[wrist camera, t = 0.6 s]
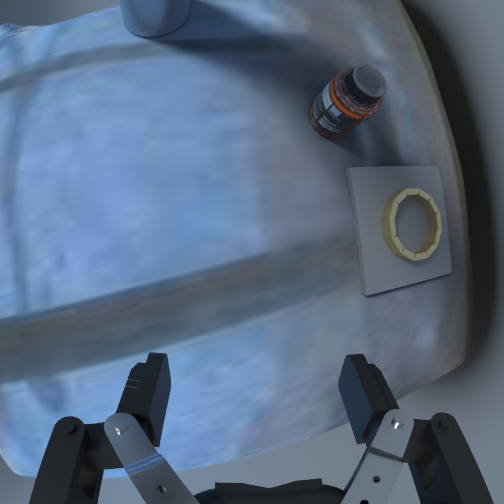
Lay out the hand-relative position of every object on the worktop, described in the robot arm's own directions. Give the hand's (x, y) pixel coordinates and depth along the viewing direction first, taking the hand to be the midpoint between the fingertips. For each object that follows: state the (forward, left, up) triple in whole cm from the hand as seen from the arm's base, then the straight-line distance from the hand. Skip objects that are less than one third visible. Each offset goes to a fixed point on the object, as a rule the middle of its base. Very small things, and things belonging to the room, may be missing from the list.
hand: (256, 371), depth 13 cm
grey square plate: (-5, +26, -22) cm, 34 cm away
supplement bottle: (-20, +17, -23) cm, 34 cm away
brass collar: (-5, +26, -22) cm, 34 cm away
